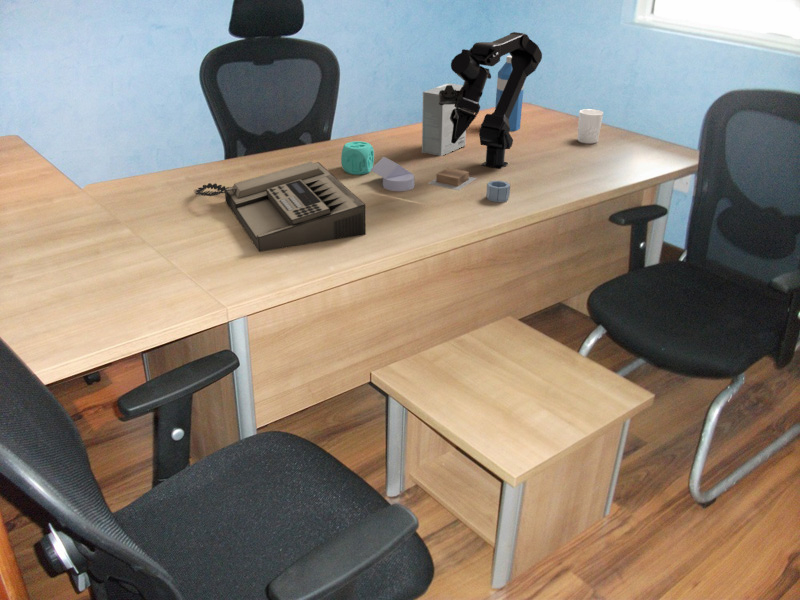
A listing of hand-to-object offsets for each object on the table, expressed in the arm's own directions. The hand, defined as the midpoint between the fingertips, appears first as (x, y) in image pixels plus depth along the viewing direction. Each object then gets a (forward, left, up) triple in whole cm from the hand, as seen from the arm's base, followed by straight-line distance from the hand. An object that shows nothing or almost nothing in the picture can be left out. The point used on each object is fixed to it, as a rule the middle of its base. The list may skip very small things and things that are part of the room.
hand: (454, 140), depth 210 cm
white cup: (-65, +19, -13) cm, 69 cm away
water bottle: (-65, -11, -13) cm, 67 cm away
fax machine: (+44, -30, -14) cm, 55 cm away
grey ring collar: (+4, +16, -13) cm, 21 cm away
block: (-2, -1, -13) cm, 13 cm away
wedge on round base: (+9, -14, -13) cm, 21 cm away
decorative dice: (+4, -30, -13) cm, 33 cm away
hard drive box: (-29, -18, -13) cm, 37 cm away
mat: (-2, -1, -13) cm, 13 cm away
